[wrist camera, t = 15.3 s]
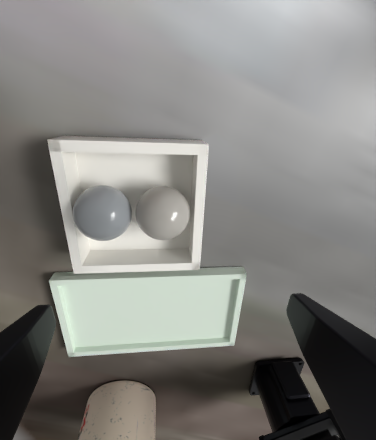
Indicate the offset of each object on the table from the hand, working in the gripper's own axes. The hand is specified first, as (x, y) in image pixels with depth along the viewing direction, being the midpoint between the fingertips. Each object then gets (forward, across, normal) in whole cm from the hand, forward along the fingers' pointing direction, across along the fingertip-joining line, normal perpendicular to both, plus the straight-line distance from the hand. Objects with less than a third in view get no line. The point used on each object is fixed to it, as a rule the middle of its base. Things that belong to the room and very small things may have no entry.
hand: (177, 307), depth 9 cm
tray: (+12, +2, +12) cm, 17 cm away
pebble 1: (+11, +4, 0) cm, 12 cm away
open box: (+12, +2, 0) cm, 12 cm away
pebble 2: (+11, 0, 0) cm, 11 cm away
